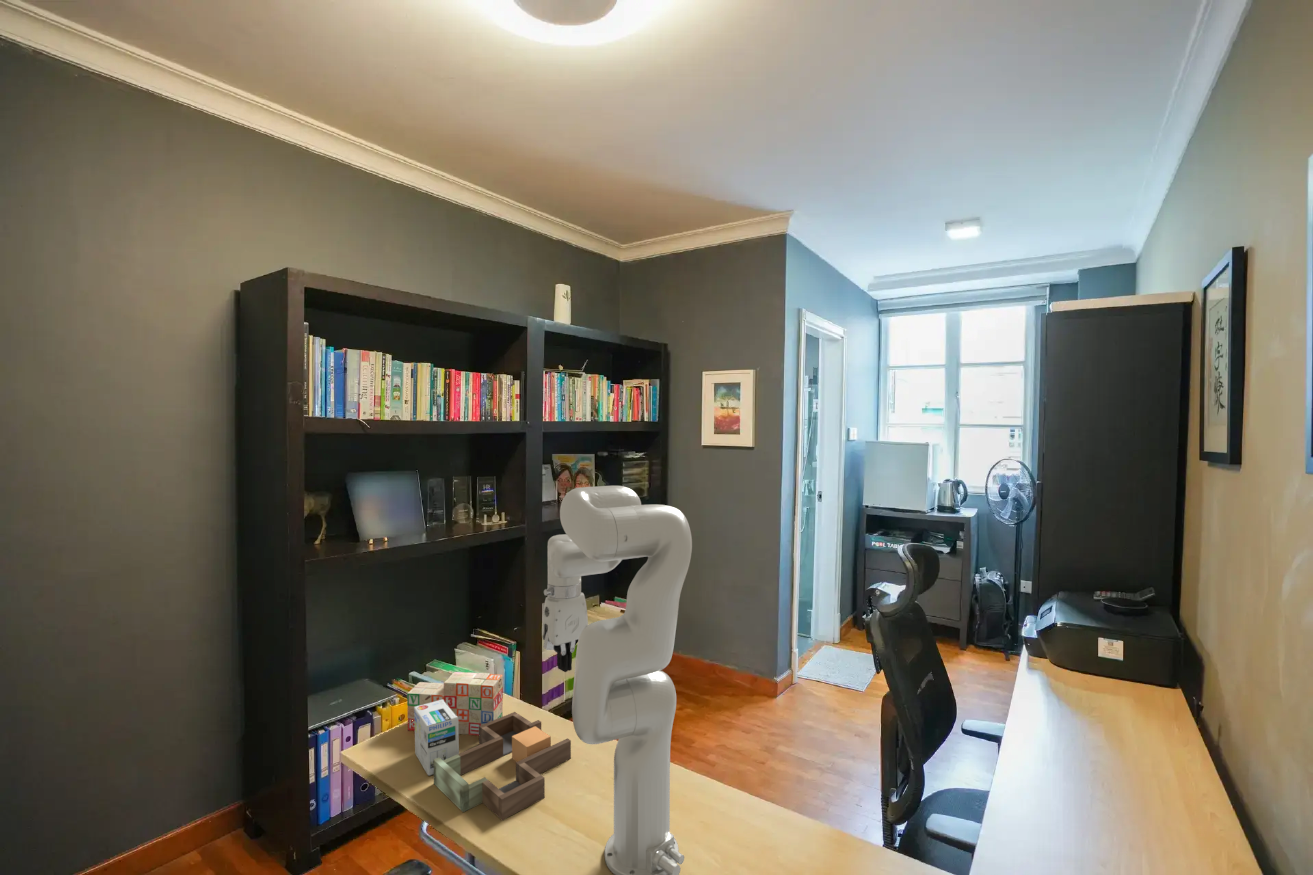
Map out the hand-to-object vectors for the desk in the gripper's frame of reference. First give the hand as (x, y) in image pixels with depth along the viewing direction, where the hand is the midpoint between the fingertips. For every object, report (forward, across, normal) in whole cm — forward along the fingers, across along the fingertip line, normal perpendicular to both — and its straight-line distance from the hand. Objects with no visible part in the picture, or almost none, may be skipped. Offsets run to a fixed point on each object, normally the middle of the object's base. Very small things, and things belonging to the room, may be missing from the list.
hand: (564, 669), depth 137 cm
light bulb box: (+17, -24, +14) cm, 33 cm away
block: (+17, -9, 0) cm, 19 cm away
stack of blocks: (+17, -14, +24) cm, 33 cm away
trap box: (+17, -15, 0) cm, 23 cm away
